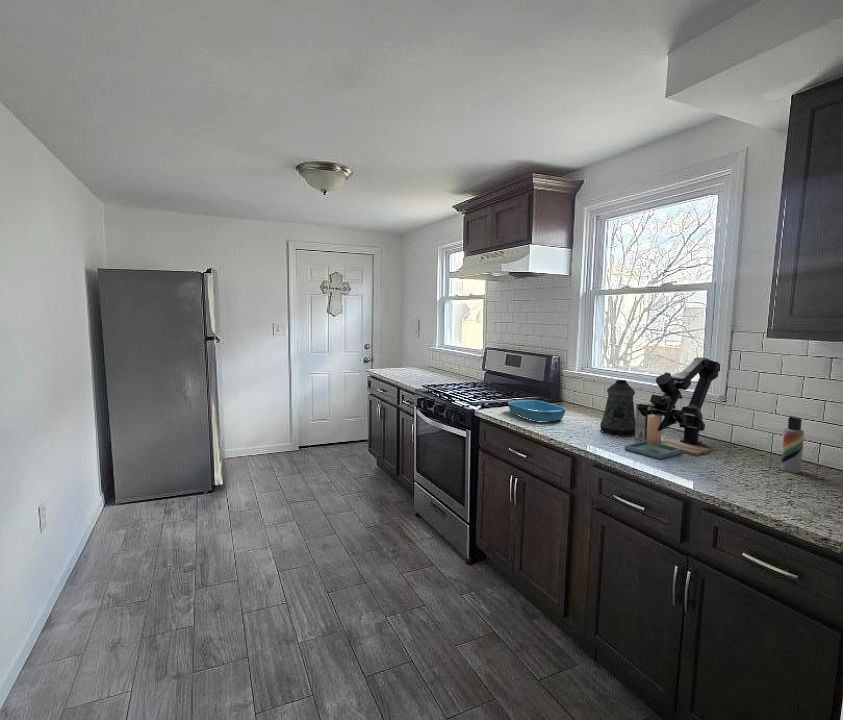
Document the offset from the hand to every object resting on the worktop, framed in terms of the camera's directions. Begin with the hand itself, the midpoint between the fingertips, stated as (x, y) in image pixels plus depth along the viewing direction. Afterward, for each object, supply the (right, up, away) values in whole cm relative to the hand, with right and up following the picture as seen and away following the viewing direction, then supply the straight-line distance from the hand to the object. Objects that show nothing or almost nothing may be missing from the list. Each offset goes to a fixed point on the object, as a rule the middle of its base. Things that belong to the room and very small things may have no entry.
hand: (652, 429), depth 191 cm
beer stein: (+1, -7, +36) cm, 36 cm away
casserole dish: (-31, -4, +67) cm, 74 cm away
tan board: (+16, -9, +6) cm, 19 cm away
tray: (+1, -10, +2) cm, 10 cm away
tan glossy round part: (+1, -7, +1) cm, 7 cm away
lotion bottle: (+40, -12, -21) cm, 47 cm away
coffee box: (+9, -8, +22) cm, 25 cm away
